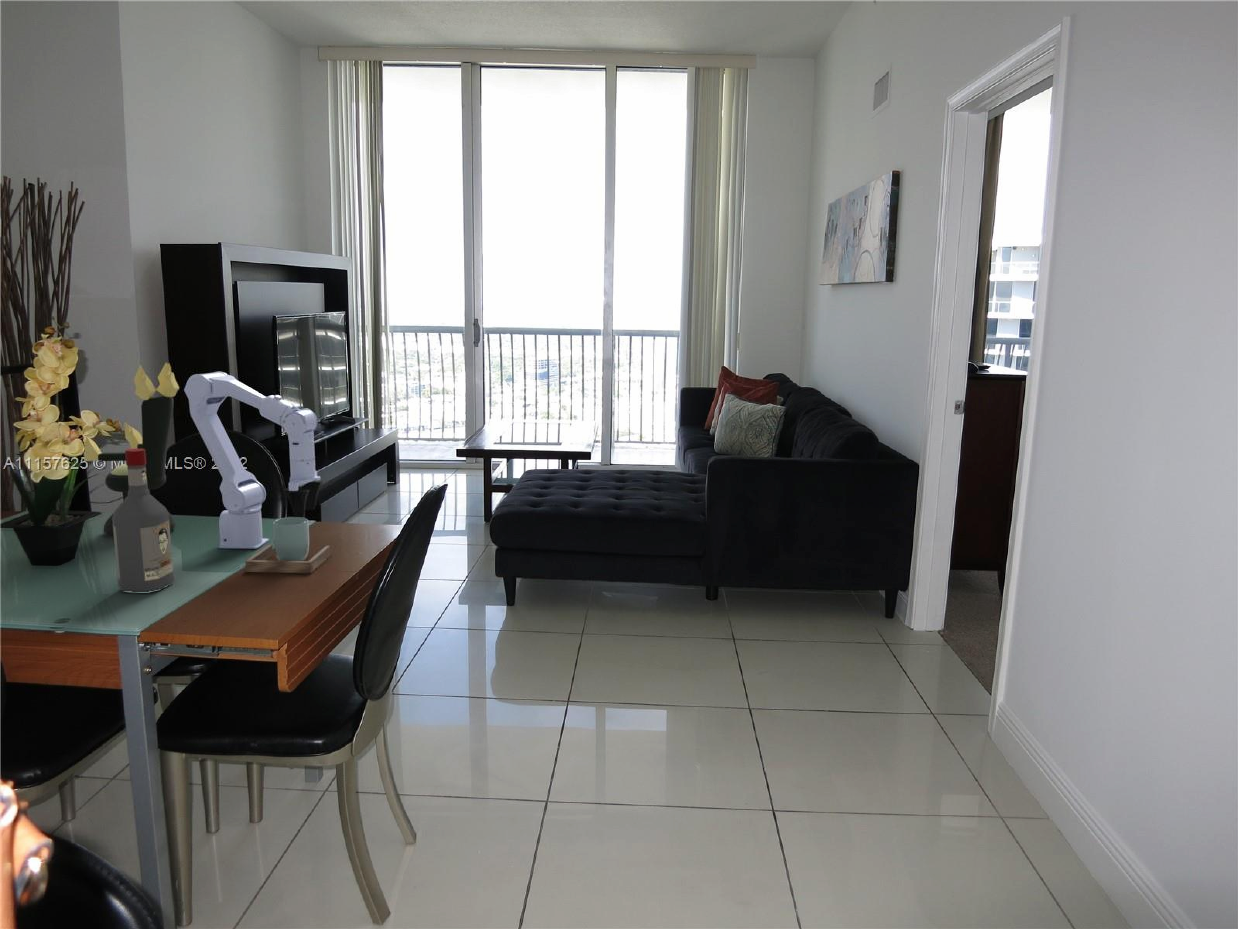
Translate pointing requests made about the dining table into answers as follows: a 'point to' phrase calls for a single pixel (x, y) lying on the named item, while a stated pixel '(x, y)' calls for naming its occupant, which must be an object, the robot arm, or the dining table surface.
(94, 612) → the dining table surface
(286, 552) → the cup
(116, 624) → the dining table surface
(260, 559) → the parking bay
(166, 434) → the flowering cactus
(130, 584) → the liquor
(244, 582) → the dining table surface
